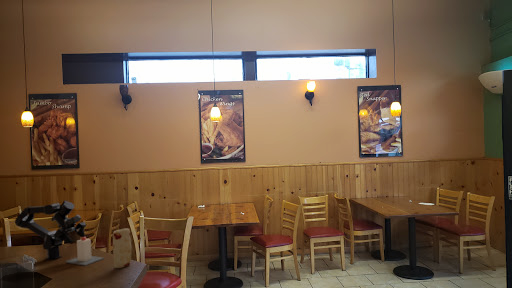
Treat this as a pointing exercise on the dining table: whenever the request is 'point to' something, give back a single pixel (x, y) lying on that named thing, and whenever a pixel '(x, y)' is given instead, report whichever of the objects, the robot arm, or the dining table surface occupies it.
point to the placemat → (90, 261)
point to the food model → (122, 248)
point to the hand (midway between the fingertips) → (79, 241)
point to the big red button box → (84, 249)
